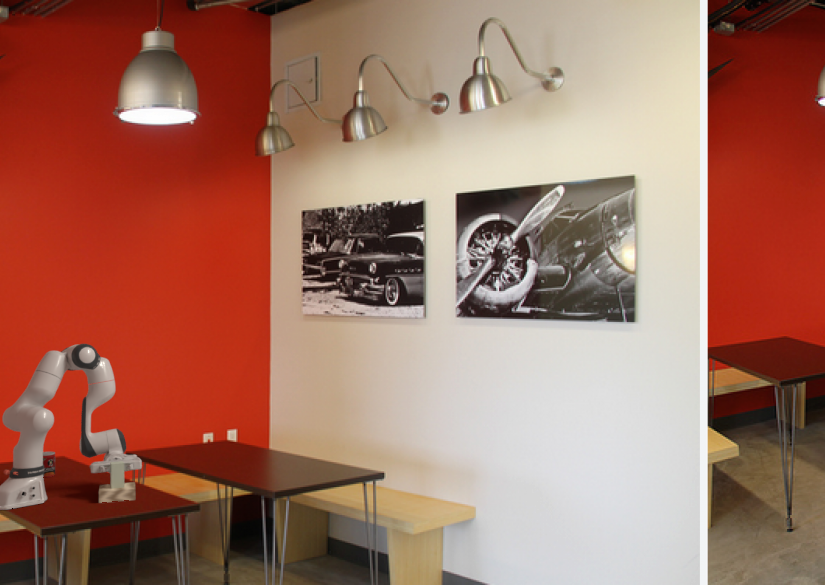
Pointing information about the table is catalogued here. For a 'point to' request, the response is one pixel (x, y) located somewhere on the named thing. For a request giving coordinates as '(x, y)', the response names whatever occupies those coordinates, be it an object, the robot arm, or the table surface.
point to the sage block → (117, 474)
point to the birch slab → (117, 493)
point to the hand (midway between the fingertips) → (117, 469)
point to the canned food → (49, 464)
